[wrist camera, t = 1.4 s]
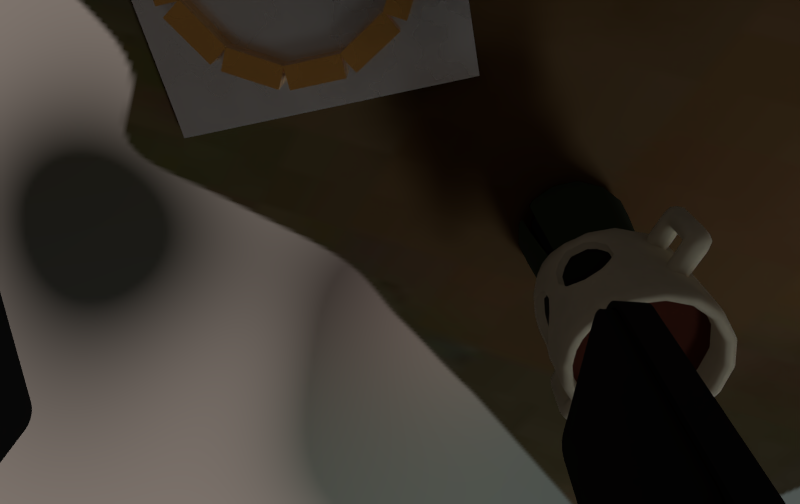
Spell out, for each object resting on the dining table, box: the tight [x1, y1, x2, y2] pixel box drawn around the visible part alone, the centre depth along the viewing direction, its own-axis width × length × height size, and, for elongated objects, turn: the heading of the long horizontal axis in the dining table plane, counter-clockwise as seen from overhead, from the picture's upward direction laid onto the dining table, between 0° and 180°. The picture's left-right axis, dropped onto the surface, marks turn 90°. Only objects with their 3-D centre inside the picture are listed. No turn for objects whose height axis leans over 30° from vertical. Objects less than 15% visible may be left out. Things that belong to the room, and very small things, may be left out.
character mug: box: [519, 181, 737, 420], centre depth 30 cm, size 11×7×13 cm, turn 157°
